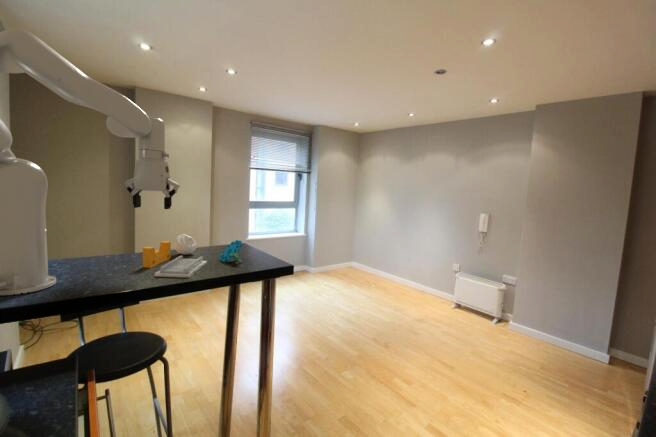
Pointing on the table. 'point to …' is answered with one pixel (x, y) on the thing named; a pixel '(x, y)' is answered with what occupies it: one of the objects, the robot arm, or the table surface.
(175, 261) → the rail plate
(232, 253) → the blue lumpy piece
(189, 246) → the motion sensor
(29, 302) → the table surface
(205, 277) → the table surface
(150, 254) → the pipe clamp
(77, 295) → the table surface
